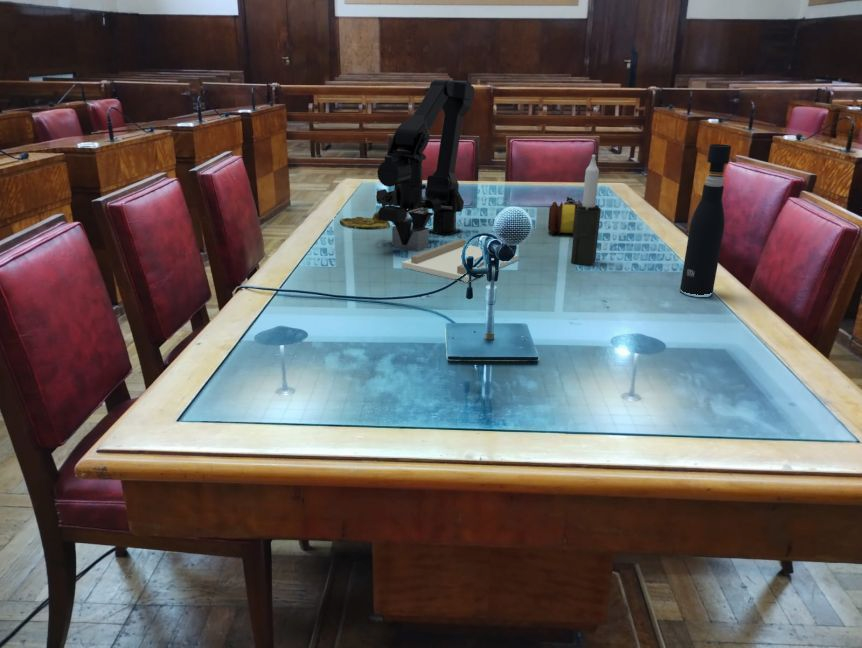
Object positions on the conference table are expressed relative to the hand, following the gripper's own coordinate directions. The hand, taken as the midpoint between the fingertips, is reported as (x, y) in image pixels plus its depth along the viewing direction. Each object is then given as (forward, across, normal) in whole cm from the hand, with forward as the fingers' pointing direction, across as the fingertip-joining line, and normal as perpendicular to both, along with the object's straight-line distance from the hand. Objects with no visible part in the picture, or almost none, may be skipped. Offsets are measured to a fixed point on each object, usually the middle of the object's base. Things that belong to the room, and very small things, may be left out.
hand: (410, 242), depth 173 cm
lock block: (+1, 0, 0) cm, 1 cm away
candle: (+1, -15, +40) cm, 43 cm away
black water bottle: (+1, -9, +68) cm, 69 cm away
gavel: (+2, -47, +20) cm, 52 cm away
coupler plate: (+1, +4, +18) cm, 18 cm away
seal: (+2, -10, -24) cm, 26 cm away
